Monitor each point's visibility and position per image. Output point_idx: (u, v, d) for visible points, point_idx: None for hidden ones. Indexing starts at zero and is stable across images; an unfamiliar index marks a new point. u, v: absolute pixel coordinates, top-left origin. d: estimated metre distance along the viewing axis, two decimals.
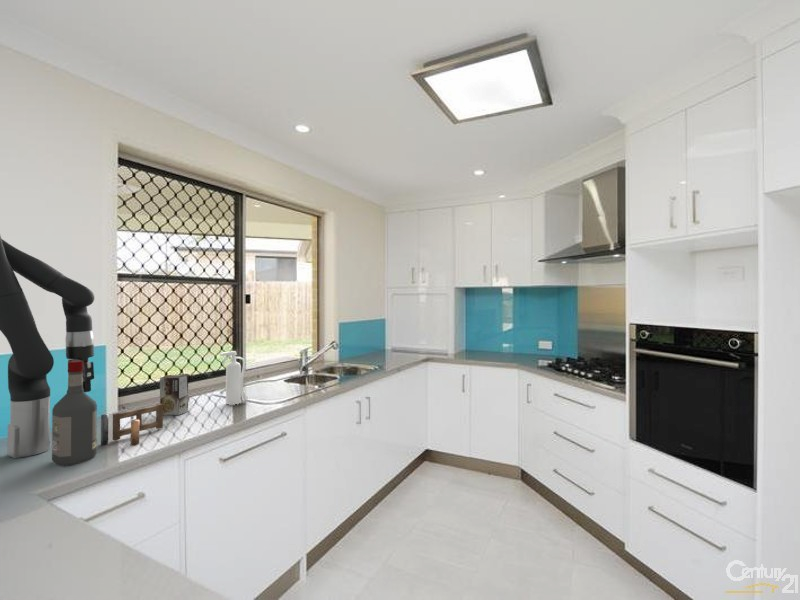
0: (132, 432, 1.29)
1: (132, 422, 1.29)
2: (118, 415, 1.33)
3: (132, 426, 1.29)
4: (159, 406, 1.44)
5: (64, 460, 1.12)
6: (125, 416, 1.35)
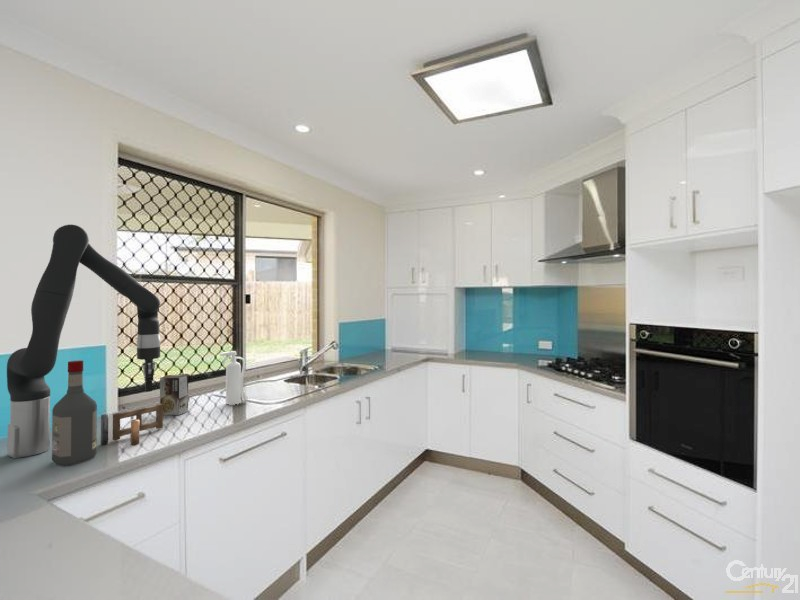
0: (132, 432, 1.29)
1: (132, 422, 1.29)
2: (118, 415, 1.33)
3: (132, 426, 1.29)
4: (159, 406, 1.44)
5: (64, 460, 1.12)
6: (125, 416, 1.35)
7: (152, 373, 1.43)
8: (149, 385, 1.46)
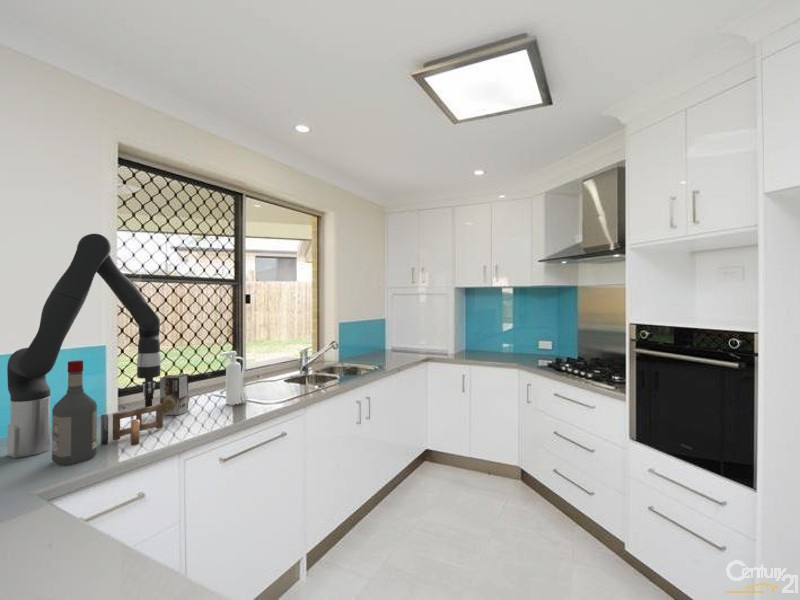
0: (132, 432, 1.29)
1: (132, 422, 1.29)
2: (118, 415, 1.33)
3: (132, 426, 1.29)
4: (159, 406, 1.44)
5: (64, 460, 1.12)
6: (125, 416, 1.35)
7: (152, 392, 1.43)
8: (149, 404, 1.46)
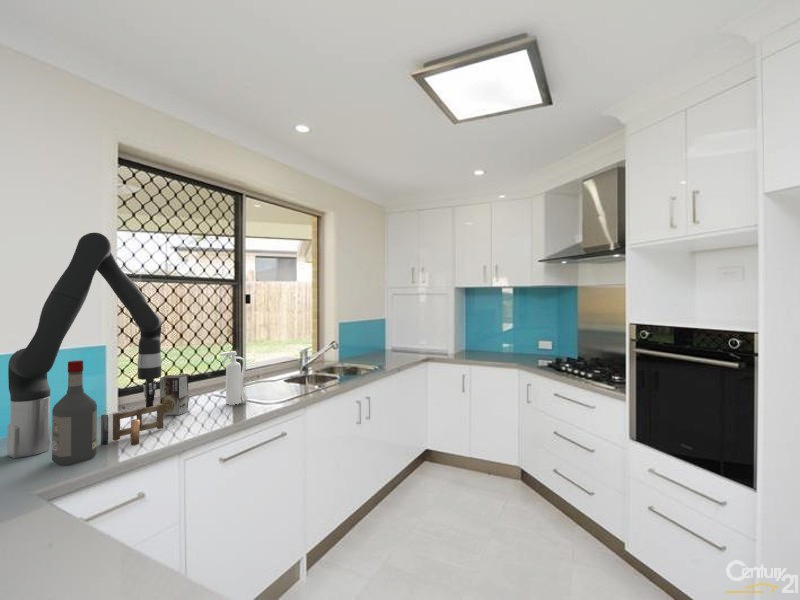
0: (132, 432, 1.29)
1: (132, 422, 1.29)
2: (118, 415, 1.33)
3: (132, 426, 1.29)
4: (160, 406, 1.44)
5: (64, 460, 1.12)
6: (125, 416, 1.35)
7: (153, 393, 1.41)
8: (150, 405, 1.43)
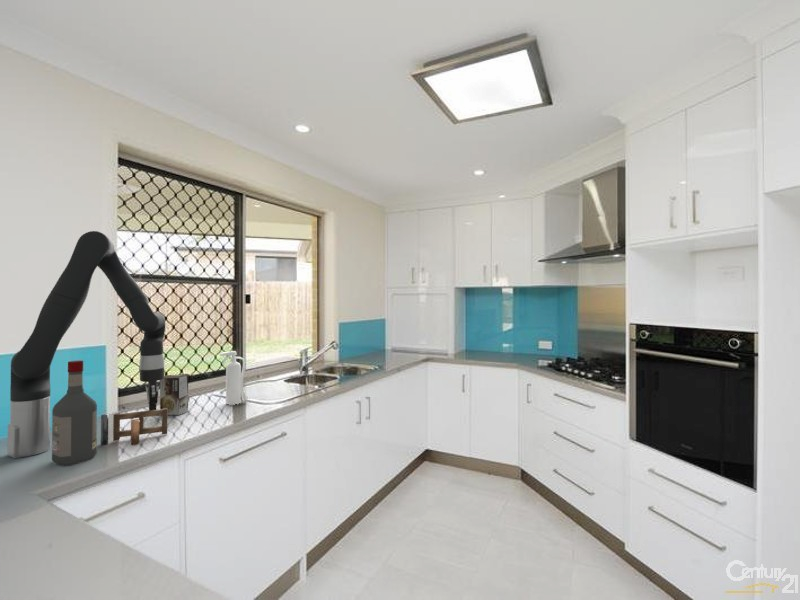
0: (132, 432, 1.29)
1: (132, 422, 1.29)
2: (117, 416, 1.32)
3: (132, 426, 1.29)
4: (163, 411, 1.38)
5: (64, 460, 1.12)
6: (124, 417, 1.33)
7: (156, 396, 1.36)
8: (153, 408, 1.39)
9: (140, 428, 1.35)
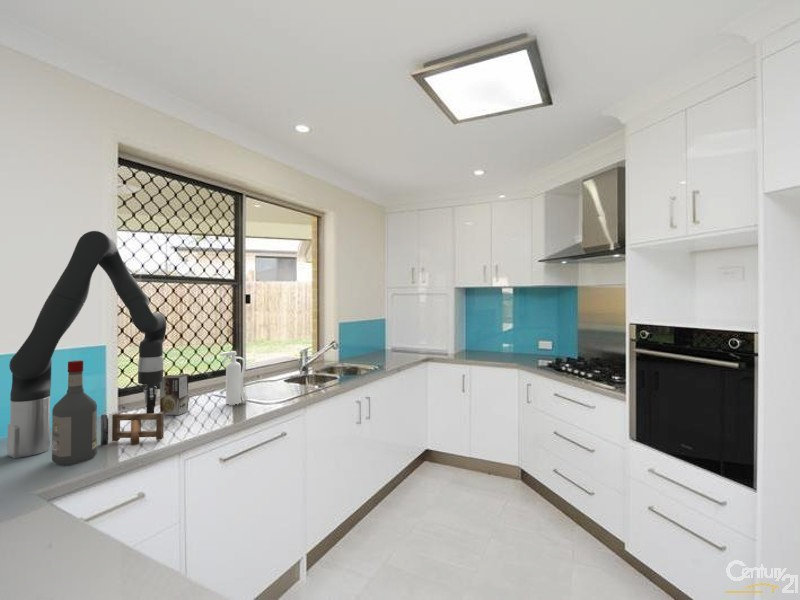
0: (132, 432, 1.29)
1: (132, 422, 1.29)
2: (115, 416, 1.31)
3: (132, 426, 1.29)
4: (157, 415, 1.33)
5: (64, 460, 1.12)
6: (122, 419, 1.32)
7: (154, 399, 1.32)
8: (150, 412, 1.35)
9: None
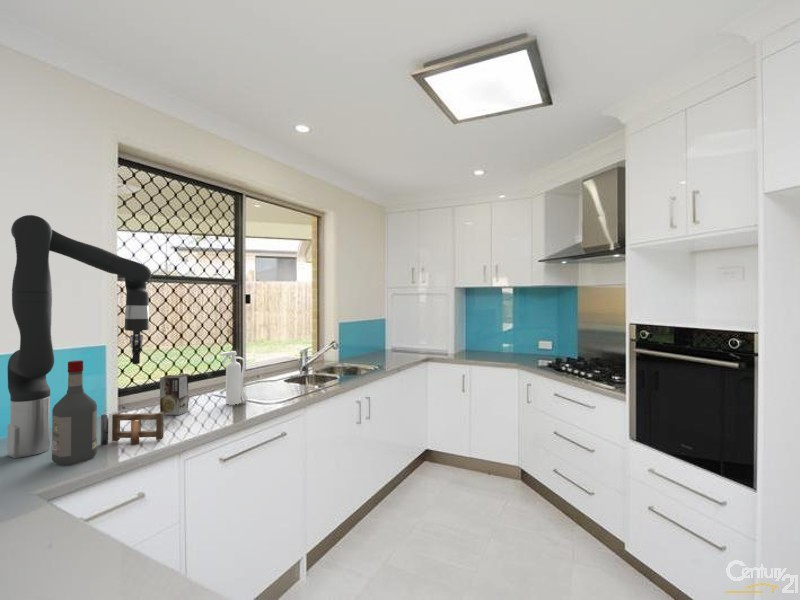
0: (132, 432, 1.29)
1: (132, 422, 1.29)
2: (115, 416, 1.31)
3: (132, 426, 1.29)
4: (157, 415, 1.33)
5: (64, 460, 1.12)
6: (122, 419, 1.32)
7: (139, 344, 1.40)
8: (136, 357, 1.43)
9: None
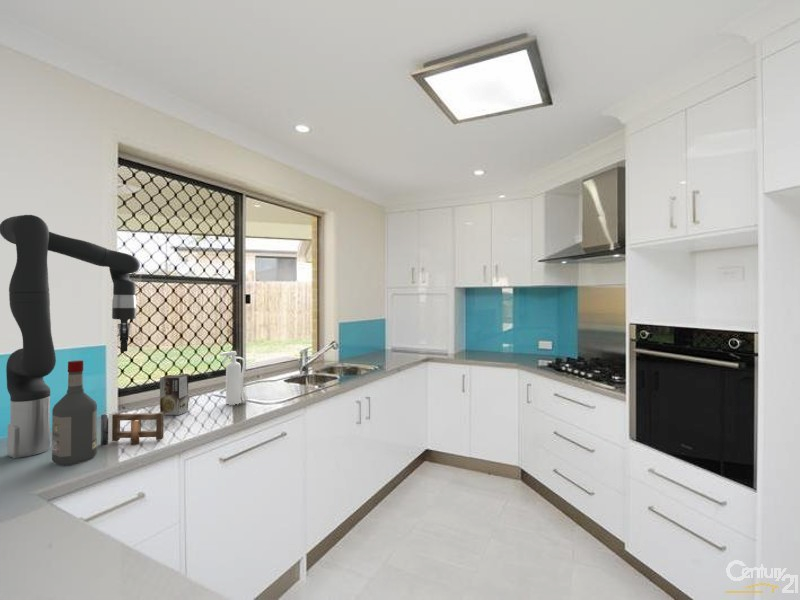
0: (132, 432, 1.29)
1: (132, 422, 1.29)
2: (115, 416, 1.31)
3: (132, 426, 1.29)
4: (157, 415, 1.33)
5: (64, 460, 1.12)
6: (122, 419, 1.32)
7: (126, 332, 1.45)
8: (124, 345, 1.48)
9: None
